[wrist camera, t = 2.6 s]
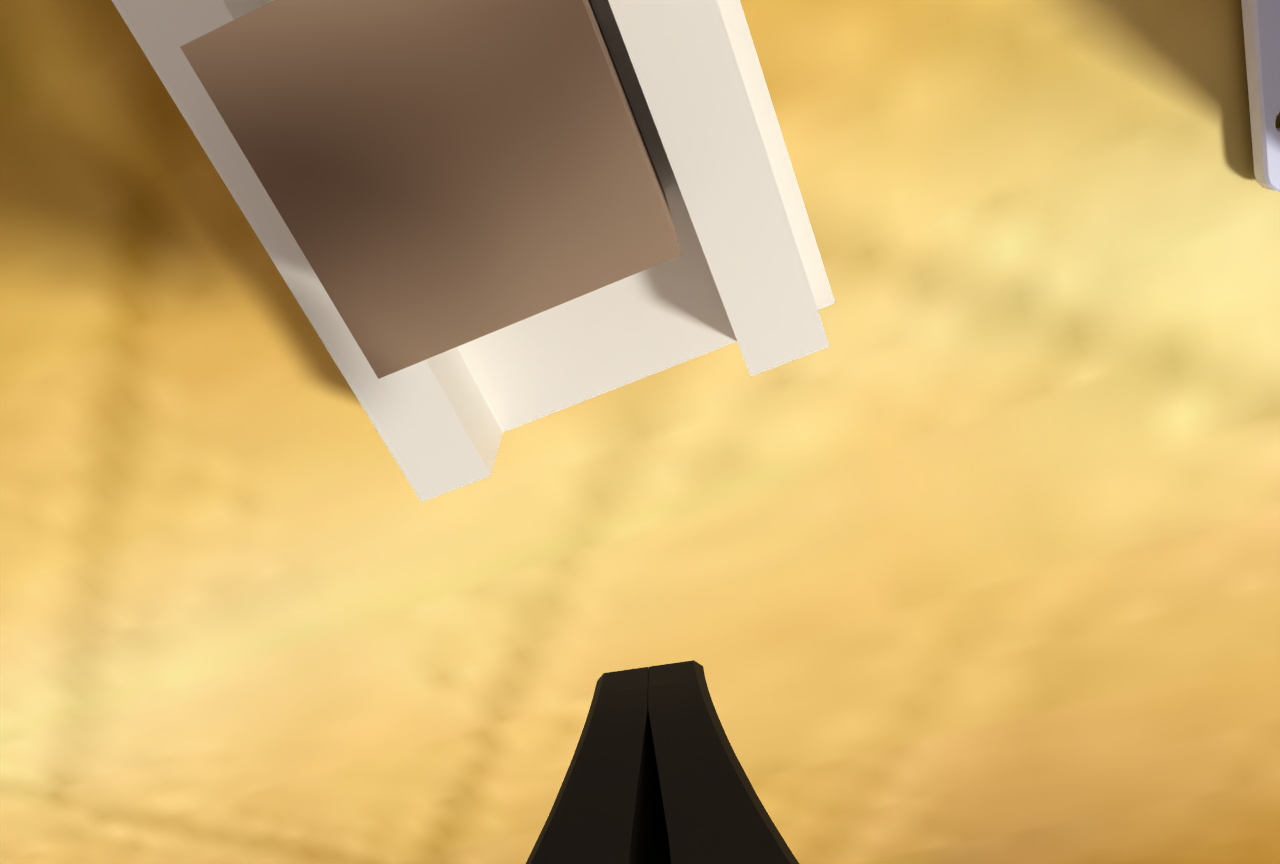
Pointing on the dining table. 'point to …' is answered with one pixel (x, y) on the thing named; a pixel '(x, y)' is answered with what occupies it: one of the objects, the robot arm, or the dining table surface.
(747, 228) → the chute
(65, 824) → the dining table surface
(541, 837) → the robot arm
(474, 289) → the walnut block
